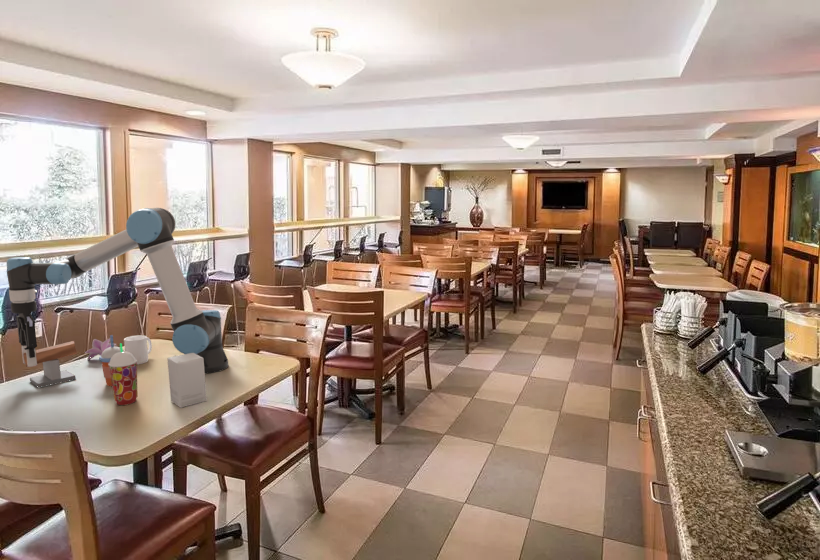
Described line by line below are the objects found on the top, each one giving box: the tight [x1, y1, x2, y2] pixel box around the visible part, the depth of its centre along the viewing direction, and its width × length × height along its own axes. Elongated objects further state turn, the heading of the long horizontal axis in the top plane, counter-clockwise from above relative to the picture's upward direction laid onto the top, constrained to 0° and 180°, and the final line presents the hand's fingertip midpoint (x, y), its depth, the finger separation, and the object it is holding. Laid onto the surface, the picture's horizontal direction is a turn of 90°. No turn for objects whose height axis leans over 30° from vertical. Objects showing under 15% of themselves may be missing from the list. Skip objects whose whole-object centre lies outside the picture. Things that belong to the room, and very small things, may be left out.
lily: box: [84, 337, 117, 360], centre depth 233 cm, size 12×12×10 cm
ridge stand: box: [29, 358, 77, 388], centre depth 207 cm, size 10×12×8 cm
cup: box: [123, 335, 153, 365], centre depth 231 cm, size 8×12×10 cm
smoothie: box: [108, 342, 138, 406], centre depth 184 cm, size 8×8×20 cm
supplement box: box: [167, 353, 207, 408], centre depth 185 cm, size 9×9×15 cm
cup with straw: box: [99, 334, 125, 387], centre depth 202 cm, size 9×9×18 cm
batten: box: [22, 340, 78, 368], centre depth 205 cm, size 4×16×4 cm, turn 123°
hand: (30, 364), depth 202 cm, fingers closed on batten, 5 cm apart
